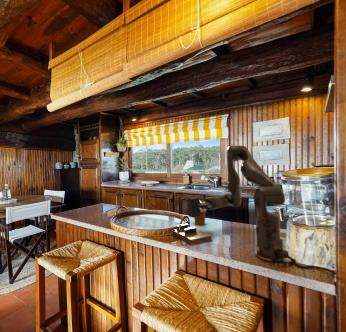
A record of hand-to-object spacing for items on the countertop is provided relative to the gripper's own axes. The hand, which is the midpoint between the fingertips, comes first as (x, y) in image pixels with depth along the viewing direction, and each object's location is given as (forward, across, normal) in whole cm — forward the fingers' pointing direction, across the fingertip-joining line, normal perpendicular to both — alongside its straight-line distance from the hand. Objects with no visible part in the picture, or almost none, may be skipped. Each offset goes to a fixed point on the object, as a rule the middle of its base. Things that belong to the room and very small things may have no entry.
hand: (190, 206), depth 127 cm
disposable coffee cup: (-22, -18, +19) cm, 35 cm away
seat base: (+1, +1, +19) cm, 19 cm away
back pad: (-3, 0, +6) cm, 7 cm away
